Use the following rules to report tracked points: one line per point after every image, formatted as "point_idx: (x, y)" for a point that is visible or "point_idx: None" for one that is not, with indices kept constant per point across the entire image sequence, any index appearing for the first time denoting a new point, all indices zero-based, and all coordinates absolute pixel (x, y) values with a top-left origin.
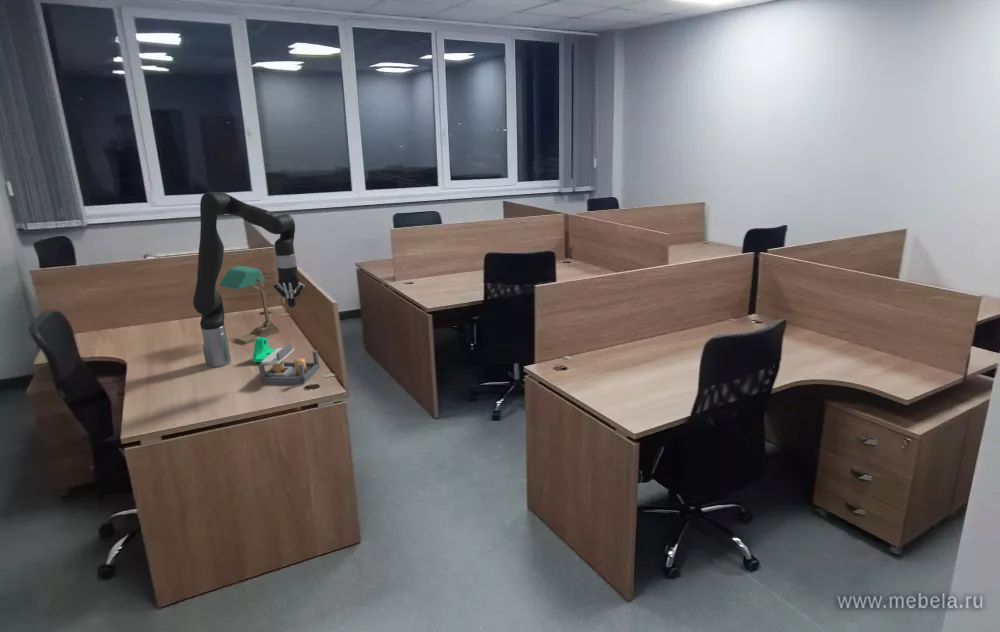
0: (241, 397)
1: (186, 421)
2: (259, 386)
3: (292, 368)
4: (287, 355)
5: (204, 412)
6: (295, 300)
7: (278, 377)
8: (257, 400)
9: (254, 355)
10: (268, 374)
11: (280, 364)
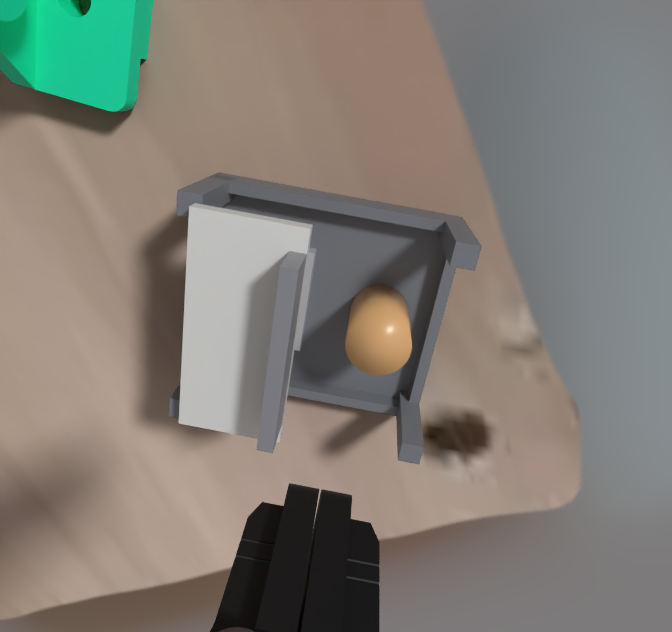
0: (179, 475)
1: (82, 593)
2: None
3: (315, 252)
4: (297, 327)
5: (104, 553)
6: (375, 613)
7: None
8: (254, 508)
9: (9, 72)
10: None
11: None
